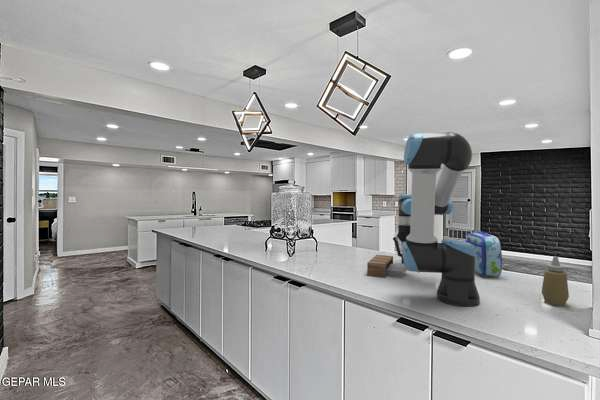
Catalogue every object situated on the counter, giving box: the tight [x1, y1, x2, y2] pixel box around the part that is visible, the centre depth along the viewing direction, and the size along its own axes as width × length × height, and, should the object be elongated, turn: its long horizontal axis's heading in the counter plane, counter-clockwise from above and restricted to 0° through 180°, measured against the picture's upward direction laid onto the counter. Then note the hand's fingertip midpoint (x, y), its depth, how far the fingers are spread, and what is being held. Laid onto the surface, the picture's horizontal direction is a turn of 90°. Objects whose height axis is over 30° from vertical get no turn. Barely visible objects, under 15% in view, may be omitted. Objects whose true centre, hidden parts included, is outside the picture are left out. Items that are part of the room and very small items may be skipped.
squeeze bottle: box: [541, 255, 570, 307], centre depth 119 cm, size 8×8×18 cm
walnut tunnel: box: [366, 254, 394, 279], centre depth 167 cm, size 22×9×7 cm, turn 154°
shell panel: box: [386, 263, 407, 279], centre depth 165 cm, size 15×12×4 cm
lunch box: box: [465, 230, 503, 277], centre depth 165 cm, size 26×11×21 cm, turn 168°
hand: (405, 270), depth 162 cm, fingers closed
